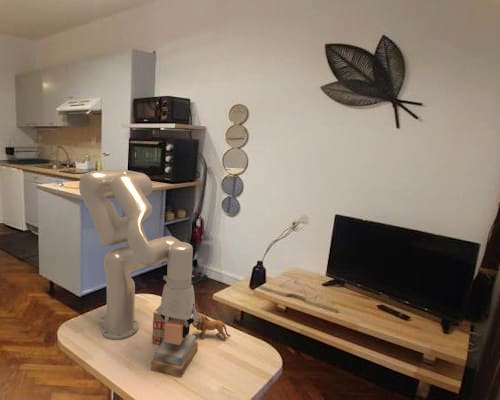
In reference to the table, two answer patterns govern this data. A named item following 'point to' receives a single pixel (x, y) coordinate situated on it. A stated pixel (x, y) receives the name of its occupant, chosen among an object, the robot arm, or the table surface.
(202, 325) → the lion figurine
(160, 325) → the stack of blocks
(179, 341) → the terracotta brick
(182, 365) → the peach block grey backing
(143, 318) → the table surface
